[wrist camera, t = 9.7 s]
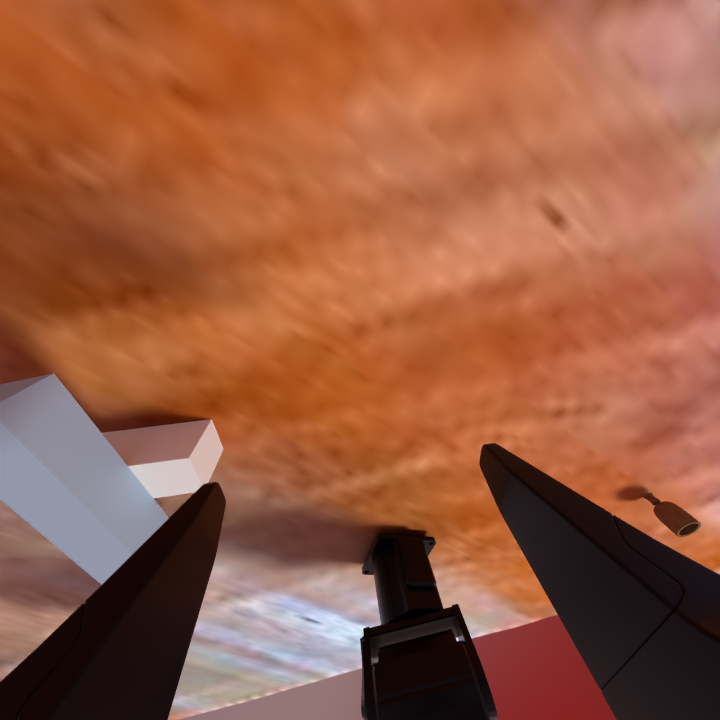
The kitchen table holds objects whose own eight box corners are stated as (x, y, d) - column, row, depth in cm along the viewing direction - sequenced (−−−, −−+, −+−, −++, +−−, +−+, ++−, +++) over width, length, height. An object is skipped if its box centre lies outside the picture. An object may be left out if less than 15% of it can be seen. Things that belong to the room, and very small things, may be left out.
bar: (196, 552, 21) (177, 600, 18) (157, 561, 21) (132, 610, 18) (54, 373, 14) (-13, 408, 11) (-7, 385, 14) (-89, 424, 11)
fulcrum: (205, 357, 19) (169, 396, 15) (247, 476, 25) (230, 531, 20) (38, 375, 19) (-53, 422, 14) (119, 494, 24) (72, 555, 19)
